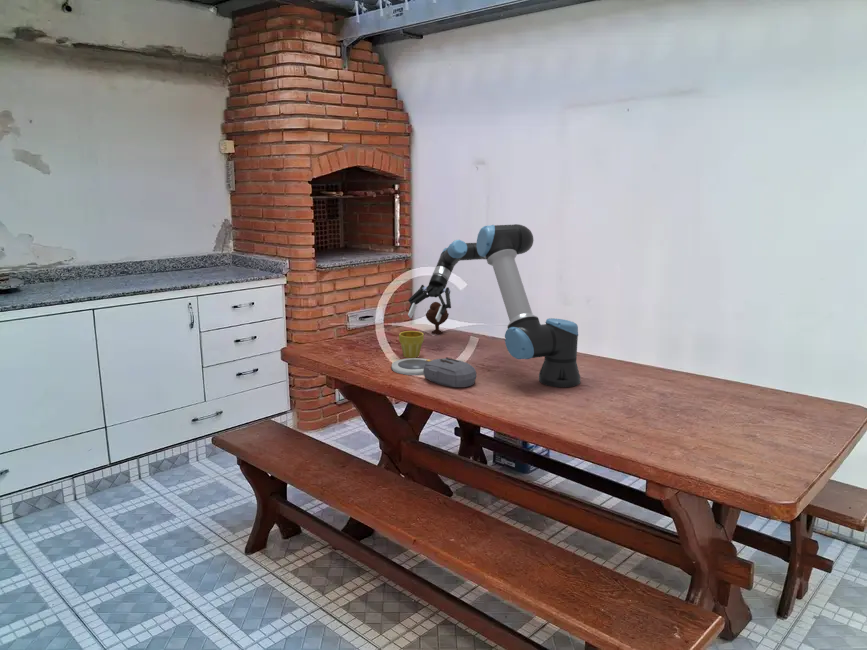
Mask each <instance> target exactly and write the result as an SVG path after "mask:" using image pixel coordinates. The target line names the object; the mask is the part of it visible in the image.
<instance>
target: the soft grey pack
mask: <svg viewBox="0 0 867 650" xmlns="http://www.w3.org/2000/svg"><path fill="white" fill-rule="evenodd" d="M431 360H432V361H429V362H428V363H426V364H425V366H424V370H423V372H424V374H423V376H424V377H425V379H427V380H428V381H430V382H432V383H435V384H437V385H440V386H445V387H451V388H465V387H466V388H467V387H471V386H472V385H474V384H475V382H476V378H477V371H476V368H475V367H474V366H472V365H471V364H470V363H468V362H466V361H463V360H460V359H455V358H454V359H453V358H452V357H450V358H449V357H445V358H435V359H431Z"/></svg>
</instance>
